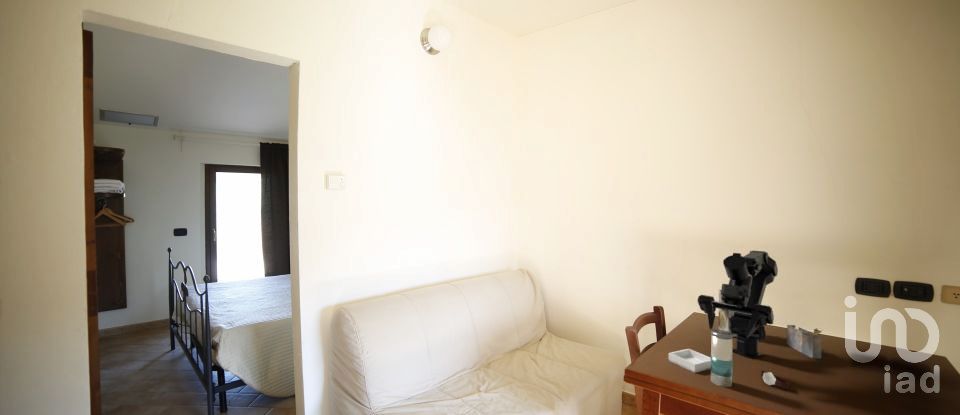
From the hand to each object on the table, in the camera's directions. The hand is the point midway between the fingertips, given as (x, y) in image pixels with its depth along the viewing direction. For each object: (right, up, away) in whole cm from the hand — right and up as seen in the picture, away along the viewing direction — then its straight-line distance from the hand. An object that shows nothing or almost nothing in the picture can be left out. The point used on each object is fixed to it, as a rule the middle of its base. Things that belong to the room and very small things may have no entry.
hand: (728, 332), depth 109 cm
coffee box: (+25, -12, +36) cm, 45 cm away
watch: (+10, -13, -5) cm, 17 cm away
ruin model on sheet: (+38, -13, +18) cm, 44 cm away
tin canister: (-5, -13, -4) cm, 14 cm away
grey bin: (-6, -12, +8) cm, 16 cm away
